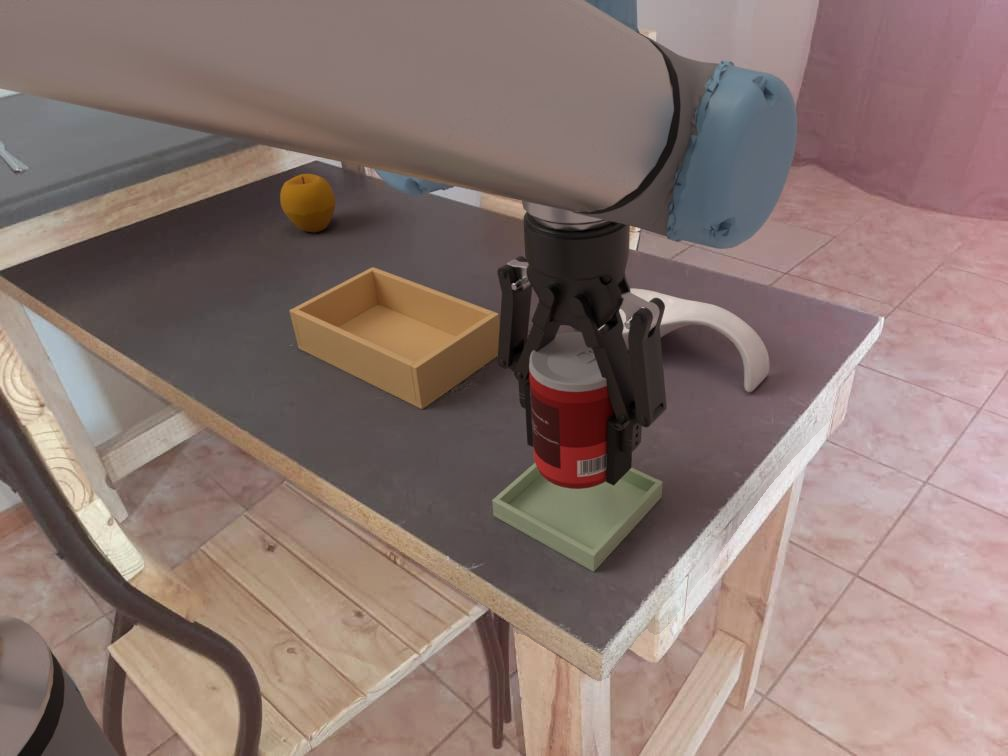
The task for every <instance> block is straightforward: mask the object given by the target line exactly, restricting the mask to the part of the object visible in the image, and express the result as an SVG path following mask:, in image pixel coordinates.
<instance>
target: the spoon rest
mask: <svg viewBox="0 0 1008 756" xmlns="http://www.w3.org/2000/svg"><path fill="white" fill-rule="evenodd" d="M630 293H632V294H634V295H636V296H638V297H640V298H642V299H644V300H646V301H648V302H649V301H650V300H652V299H653V298H659V299H661V300H662V301H663V302H664V304H665V310H664V314H663V317H662V321H661V324H660V337H661V338H662V337H664V336H665V335H667V334H669V333H671V332H674V331H675V330H677V329H680V328H683V327H687V326H697V325H698V326H703V327H707V328H710V329H713V330H715V331H716V332H718V333H720V334H722V335H723V336H725V337H726V338H727V339H728V340H729V341H730V342H731V343H732V344H733V345H734V346H735V348H736V349H737V351H738V353H739V354H740V356H741V359H742V365H743V376H744V377H743V378H744V379H743V387H744V390H745V391H746V392H747V393H752V392H753V391H754V390H755V389H756V388H757V387H758V386H759V385H760V384H761V383H762V382H763V381H764V380H765V379H766V378H767V376H768V375H769V373H770V357H769V353H768V349H767V347H766V345H765V343H764V341H763V340H762V339H761V337H760V335H759V334H758V333H757V332H756V330H754V329H753V328H752V327H751V326H750V325H749V324H748V323H747V322H745V321H744V320H743V319H742V318H740V317H739V316H738V315H736V314H734V313H732V312H731V311H729V310H727V309H725V308H723V307H721V306H718V305H716V304H712V303H708V302H703V301H696V300H690V299H685V298H680V297H676V296H673V295H669V294H665V293H661V292H659V291H654V290H649V289H643V288H635V287H634V288H633V287H632V288H631V287H630ZM619 312H620V315H621V318H622V321H623V325H624V323H625V322H626V315H625V313H624V311H623V310H622V309H620V310H619ZM603 326H604V325H603ZM603 326H602V327H603ZM602 327H601V328H602ZM601 328H599V329H598V330H600V329H601ZM622 334H623V338H624V341H625V344H626V347H627V350H628V352H629V346H628V334H629V329H627V328H626V327H625V325H624V329H623V332H622Z"/></svg>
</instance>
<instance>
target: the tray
mask: <svg viewBox="0 0 1008 756" xmlns="http://www.w3.org/2000/svg"><path fill="white" fill-rule="evenodd" d="M662 494H663V481H662V480H660V479H658V478H656V477H653V476H651V475H649V474H646V473H645V472H642V471H640V470H638V469H636V468H634V467H631V469H630V470H629V471H628V472H627V473H626V474H625V475H624V476H623V477H622V478H621V479H620V480H619V481H618V482H617V483H616V484H615V485H614V486H613V485H611V484H609V483H607V482H604V483H602V484H600V485H597V486H594V487H590V488H583V489H570V488H564V487H560V486H557V485H555V484H553V483H551V482H549V481H548V480H546V479H545V478H544V477H543V476H542V475H541V473H540V472H539V470H538V468H537V466H536V463H535V462H534V463H532V465H531V466H529V467H528V468H527V469H525V471H523V472H522V473H521V474H520V475H518V477H516V478H515V480H513V481H512V482H511V483H509V485H507V487H505V488H504V489H503V490H502V491H500V492H499V493H498V494H497V496H496V497H494V498H493V499H492V500H491V501H492V503H491V504H492V513H493V517H494V518H496V519H498V520H500V521H502V522H504V523H506V524H507V525H509V526H511V527H512V528H514V529H516V530H518V531H520V532H522V533H523V534H525V535H527V536H529V537H531V539H534V540H536V541H538V542H539V543H541V544H543V545H545V546H546V547H548V548H550V549H552V550H554V551H556V552H557V553H559V554H561V555H563V556H564V557H566V558H568V559H570V560H571V561H573V562H575V563H577V564H579V565H580V566H582V567H584V568H586V569H588V570H590V571H591V572H594V573H595V571H596V570H597V569H598V568H599V567H600V566H601V565H602V564H603V563H604V562H605V560H607V558H608V557H609V556H610V555H611V554H612V553H613V552H614V551H615V549H616V548H617V547H618V546H619V545H620V544H621V543H622V542H623V540H625V538H626V537H627V536H628V535H629V534H630V533H631V532H632V531H633V530H634V528H636V526H637V525H638V524H640V522H642V520H643V519H644V518H645V516H647V514H648V513H649V512H650V511H651V510H652V509H653V507H655V505H656V504H657V503H658V502H659V501H660V500H661V499H662Z"/></svg>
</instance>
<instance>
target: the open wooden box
mask: <svg viewBox="0 0 1008 756" xmlns="http://www.w3.org/2000/svg"><path fill="white" fill-rule="evenodd" d="M289 314H290V318H291V323H292V326H293V331H294V334H295V339H296V343H297V347H298V350H301V351H302V352H305V353H307V354H309V355H311V356H313V357H315V358H317V359H319V360H321V361H323V362H325V363H327V364H329V365H331V366H333V367H335V368H337V369H340V370H341V371H343V372H345V373H348V374H350V375H352V376H353V377H356V378H358V379H360V380H361V381H364V382H365V383H368V384H369V385H372V386H374V387H375V388H378V389H380V390H381V391H384V392H386V393H388V394H389V395H392V396H394V397H396V398H398V399H400V400H403V402H406V403H409V404H410V405H412V406H415V407H416V408H419V409H421V410H424V409H425V408H427V407H428V406H429V405H431V404H432V403H434V402H435V401H436V400H438V399H439V398H440V397H442V396H444V395H445V394H447V393H448V392H449V391H450V390H452V389H454V388H455V387H456V386H458V385H459V384H460V383H462V382H463V381H465V380H466V379H468V378H469V377H470V376H472V375H473V374H475V373H476V372H477V371H479V370H481V369H482V368H483V367H485V366H486V365H487V364H489V363H490V362H491V361H493V360H494V359H496V358H498V345H499V330H500V314H499V313H498V312H495V311H494V310H491V309H487V308H485V307H482V306H480V305H476V304H474V303H472V302H469V301H466V300H463V299H460V298H458V297H455V296H452V295H450V294H447V293H445V292H442V291H439V290H436V289H433V288H430V287H428V286H425V285H423V284H420V283H417V282H415V281H412V280H409V279H406V278H404V277H401V276H398V275H396V274H393V273H390V272H388V271H385V270H383V269H379V268H376V267H374V266H372V267H370V268H368V269H366V270H365V271H362V272H360V273H359V274H357V275H355V276H353V277H351V278H349V279H347V280H345V281H343V282H341V283H339V284H337V285H335V286H333V287H331V288H329V289H328V290H326V291H324V292H322V293H320V294H318V295H316V296H314V297H312V298H310V299H308V300H307V301H305V302H303V303H301V304H299V305H297V306H295V307H293V308H291V309H289Z"/></svg>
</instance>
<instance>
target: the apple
mask: <svg viewBox="0 0 1008 756" xmlns="http://www.w3.org/2000/svg"><path fill="white" fill-rule="evenodd" d="M279 200H280V207H281V208H282V211H283V213H284V214H285V215H286V217H287V219H288V220H290V222H291V223H292V224H293V225H294V226H295V227H296V228H298V229H299V230H301V231H303V232H307V233H319V232H322V231H323V230H325V229H327V227H328V226H329V224H330V223H331V220H332V218H333V216H334V212H335V209H336V196H335V193H334V191H333V189H332V186H331V184H330V183H329V182H328V181H327V180H326V179H325V178H324V177H323V176H320V175H317V174H315V173H301V174H298V175H296V176H293V177H292V178H290V179H288V180H287V181H285V182H284V183H283V185H282V187H281V188H280V195H279Z"/></svg>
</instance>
